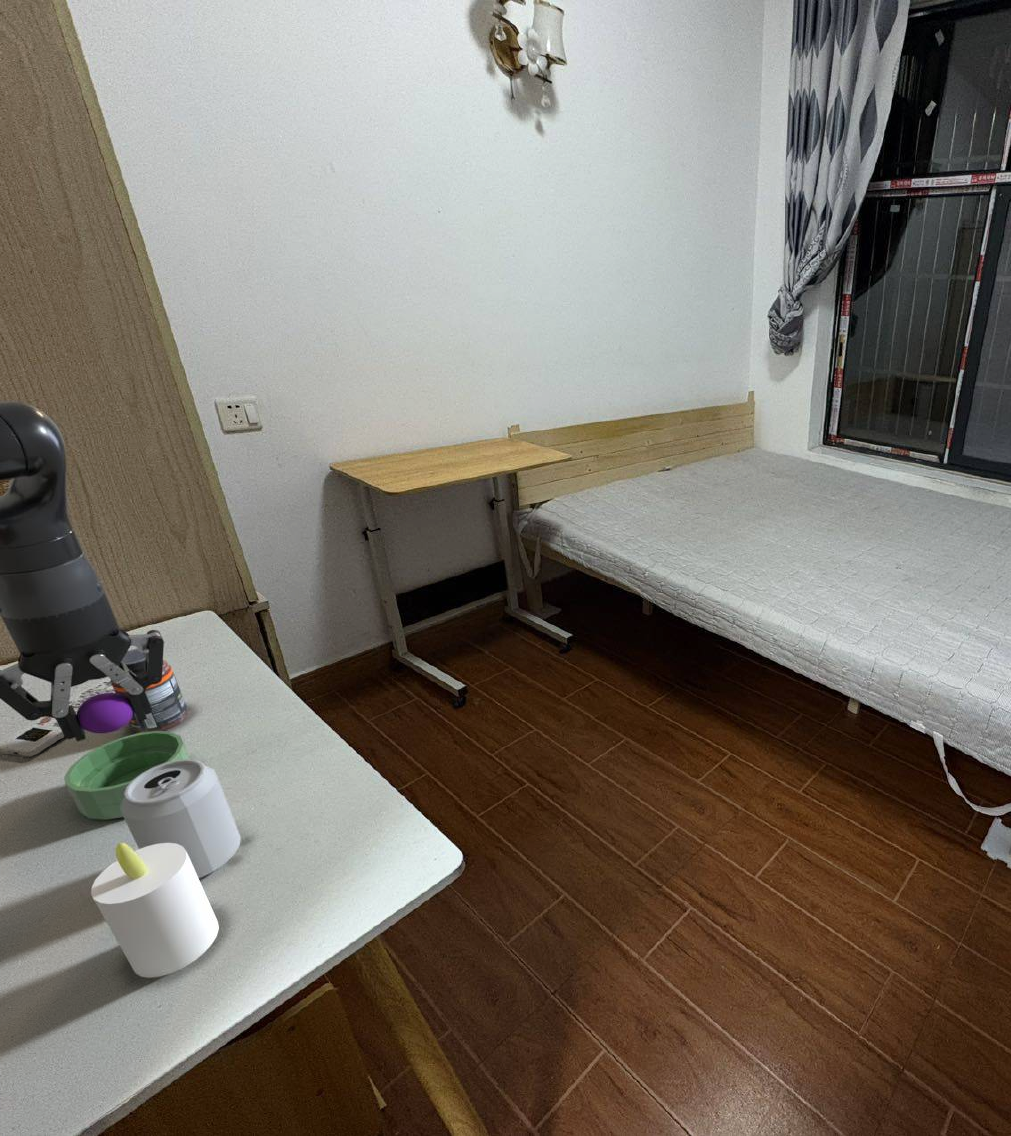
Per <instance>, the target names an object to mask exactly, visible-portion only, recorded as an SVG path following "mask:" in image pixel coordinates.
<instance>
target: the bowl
mask: <svg viewBox="0 0 1011 1136" xmlns="http://www.w3.org/2000/svg"><path fill="white" fill-rule="evenodd" d="M182 759H191V757H190V755H189V752H188V750H187V748H186V745H185V742H184V740H183V737H182V736H181V735H179V734H177V733H175V732H174V731H168V730H166V731H151V732H142V733H133V734H130V735H126V736H122V737H119V738H117V739H115V740H112V741H109V742H107V743H104V744H102V745H100V746H98V747H96V748H95V749H93V750H91V751H89V752H88V753H86V754H84V755H82V756H81V757H80V758H79V759H78V760H76V761H75V762H74V763H73V764H72V765H71V766H70V767H69V769H68V770H67V771H66V774H65V775H64V783H65V786H66V789H67V791H68V792H69V794H70V797H71V798H72V800H73V801H74V804H75V806H76V807H77V809H78V811H79V813H80V814H82V815H83V816H85V817H86V818H88V819H93V820H101V821H102V820H104V821H108V820H113V819H119V818H124V817H123V815H122V812H121V809H120V806H121V803H122V801H123V799H124V798H125V797H124V792H125V789H126V787H127V786H128V785H129V784H130V783H131V781H132V780H134V779H135V778H136V777H138V776H139V775H140V774H142V773H143V772H145V771H147V770H149V769H151V768H153V767H155V766H158V765H161V764H163V763H166V762H171V761H175V760H182Z"/></svg>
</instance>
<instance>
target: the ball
mask: <svg viewBox="0 0 1011 1136" xmlns="http://www.w3.org/2000/svg"><path fill="white" fill-rule="evenodd" d="M76 714H77V716H76V717H77V720H78V723H79V725H80V726H81V727H82V728H83V729H84V731H86V732H89V733H92V734H102V735H103V734H109V733H113V732H116V731H120V730H121V729H123V728H124V727H125V726H126V725H128V724H129V721H130V720H131V719H132V717H133V715H134V708H133V706H132V704H131V702H130V699H129V698H128V697H126V696H124V695H121V694H118V693H115V692H102V693H98V694H95V695H92V696H91V697H89V698H87V699H86V700H85V701H83V702H82V703H81V705H79V707H78V709H77V712H76Z"/></svg>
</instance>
